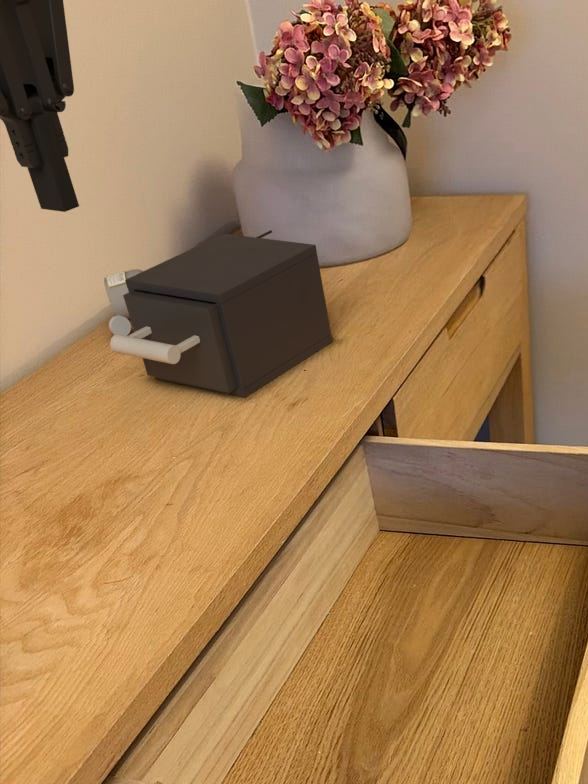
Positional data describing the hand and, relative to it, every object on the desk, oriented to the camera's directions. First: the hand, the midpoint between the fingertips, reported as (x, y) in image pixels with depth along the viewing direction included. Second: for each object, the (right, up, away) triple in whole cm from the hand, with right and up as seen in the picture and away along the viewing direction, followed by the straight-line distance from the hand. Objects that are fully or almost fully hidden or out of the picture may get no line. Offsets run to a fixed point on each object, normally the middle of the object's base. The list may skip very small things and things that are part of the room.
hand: (60, 207), depth 77 cm
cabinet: (+10, -6, +20) cm, 23 cm away
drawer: (+8, -8, +17) cm, 20 cm away
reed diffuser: (+2, +3, +32) cm, 32 cm away
